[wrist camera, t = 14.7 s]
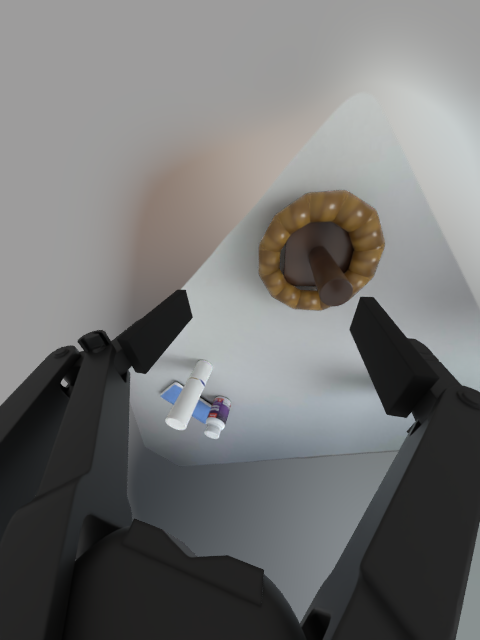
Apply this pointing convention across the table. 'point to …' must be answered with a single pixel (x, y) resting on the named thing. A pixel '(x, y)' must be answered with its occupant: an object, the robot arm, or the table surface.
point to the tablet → (201, 407)
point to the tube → (189, 396)
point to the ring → (322, 208)
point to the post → (320, 261)
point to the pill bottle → (217, 417)
